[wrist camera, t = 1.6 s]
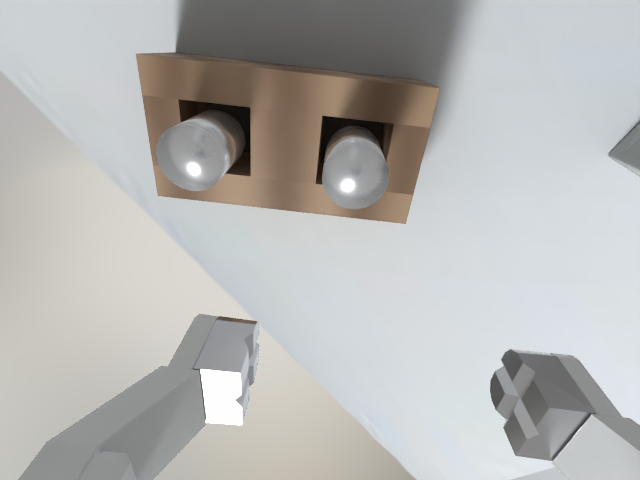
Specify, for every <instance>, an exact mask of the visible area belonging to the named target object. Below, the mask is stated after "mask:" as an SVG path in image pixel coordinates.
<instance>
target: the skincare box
mask: <svg viewBox="0 0 640 480" xmlns="http://www.w3.org/2000/svg"><path fill="white" fill-rule="evenodd" d="M608 156H609V157H610V158H612V159H613V160H615V161H616V162H618V163H619V164H621V165H622V166H624V167H625V168H627V169H629V170H630V171H632V172H633V173H635V174H636V175H638V176H640V123H639V124H638V125H637V126H636V127H635V128H634V129H633V130H632V131H631V132H630V133H629V134H628V135H627V136H625V137H624V139H623V140H622V141H621V142H620V143H619V144H618V145H617V146H616V147H615V148H614V149H613V150H612V151H611V152H610V153H609V155H608Z"/></svg>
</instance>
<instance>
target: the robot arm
mask: <svg viewBox="0 0 640 480" xmlns="http://www.w3.org/2000/svg"><path fill="white" fill-rule="evenodd" d="M258 335H259V322H258V321H250V320H243V319H236V318H229V317H220V316H219V317H217V316H210V315H204V314H199V315H198V316H196V317H195V318H194V320H193V322H192V324H191V325H190V327H189V329H188V331H187V333H186V335H185V336H184V338H183V340H182V342H181V344H180V345H179V348H178V349H177V351H176V353H175V355H174V356H173V358H172V360H171V362H170V364H169V366H168V367H167V366H161V367H159V368H158V369H156V370H155V371H153V372H152V373H150V374H149V375H147V376H146V377H144V378H143V379H141V380H140V381H138V382H137V383H135V384H134V385H132V386H131V387H129V388H128V389H126V390H125V391H123V392H122V393H120V394H118V395H117V396H115V397H114V398H113V399H111V400H109V401H108V402H106V403H105V404H103V405H102V406H100V407H99V408H98V409H96V410H94V411H93V412H91V413H90V414H88V415H87V416H85V417H84V418H82V419H81V420H80V421H78V422H76V423H75V424H73V425H72V426H70V427H69V428H67V429H66V430H64V431H63V432H61V433H60V434H58V435H57V436H55V437H54V438H52V439H51V440H49V441H48V442H46V444H45V445H44V446H43V448H42V449H41V450H40V452H39V453H38V454H37V456H36V457H35V459H34V460H33V461H32V462H31V464H30V465H29V466H28V468H27V469H26V470H25V472H24V473H23V474H22V476H21V477H20V478H19V480H153V479H154V478H155V477H156V476H157V475H158V474H159V473H160V472H161V471H162V470H163V469H164V468H165V467H166V466H167V464H168V463H169V462H170V461H171V460H172V459H173V458H174V457H175V456H176V455H177V454H178V453H179V452H180V451H181V450H182V449H183V448H184V447H185V446H186V445H187V444H188V443H189V442H190V440H191V439H192V438H193V437H194V436H195V435H196V434H197V433H198V432H199V431H200V430H201V429H202V428H203V427H204V426H205V425H206V422H211V423H223V424H235V425H242V424H243V420H244V416H245V413H246V409H247V405H248V402H249V386H250V385H252V384H253V382H254V379H255V375H256V370H257V365H258V357H259V345H258V343H257V338H258ZM501 360H502V363H503V365H504V366H503V367H502V368H500V369H498V370H496V371H495V372H494V374H493V377H492V379H491V383H490V393H491V398H492V402H493V404H494V406H495V409H496V410H497V411H498V412H499V413H500V414H501V415H502V416H503V417H504V418H505V419H506V420H505V424H504V427H503V428H504V430H505V432H506V435H507V437H508V439H509V442H510V444H511V446H512V449H513V451H514V453H515V456H521V457H529V458H536V459H543V460H550V461H553V462H552V463H553V465H554V466H555V467H556V468H557V469H558V470H559V471H560V472H561V473H562V474H563V475H564V476H565V478H566V479H567V480H640V425H638V424H637V423H636V422H634V421H633V420H631V419H630V418H624V417H622V416H621V414H620V413H619V412H618V411H617V409H616V408H615V407H614V405H613V404H612V403H611V401H610V400H609V399H608V397H607V396H606V395H605V394H604V392H603V391H602V390H601V388H600V387H599V386H598V384H597V383H596V382H595V381H594V379H593V378H592V377H591V375H590V374H589V373H588V371H587V370H586V369H585V367H584V366H583V365H582V364H581V362H580V361H579V360H578V359H577V358H575V357H574V356H572V355H562V354H552V353H551V354H549V353H542V352H532V351H522V350H512V349H510V350H508V351H507V352H505V354H504V355H503V357H502V359H501Z"/></svg>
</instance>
